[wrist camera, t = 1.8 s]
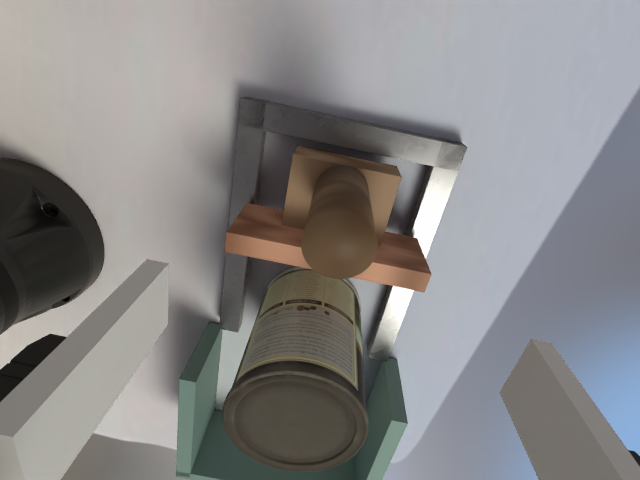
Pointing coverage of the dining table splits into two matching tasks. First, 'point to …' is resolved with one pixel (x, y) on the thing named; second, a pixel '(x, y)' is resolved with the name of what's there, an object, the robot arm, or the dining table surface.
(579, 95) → the dining table surface
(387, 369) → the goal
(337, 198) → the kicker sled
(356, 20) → the dining table surface
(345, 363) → the coffee can
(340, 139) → the track
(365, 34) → the dining table surface
